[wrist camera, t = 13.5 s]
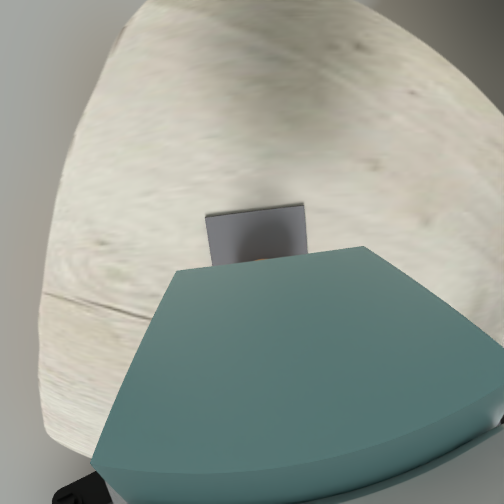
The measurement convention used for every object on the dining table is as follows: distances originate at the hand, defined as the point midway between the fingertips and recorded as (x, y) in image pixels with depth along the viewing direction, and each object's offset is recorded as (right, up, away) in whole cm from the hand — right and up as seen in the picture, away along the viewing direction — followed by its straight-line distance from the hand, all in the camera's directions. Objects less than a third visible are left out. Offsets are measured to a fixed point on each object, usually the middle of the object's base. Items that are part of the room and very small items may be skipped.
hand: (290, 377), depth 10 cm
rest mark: (-1, +4, +15) cm, 15 cm away
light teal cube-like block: (0, +1, +3) cm, 3 cm away
